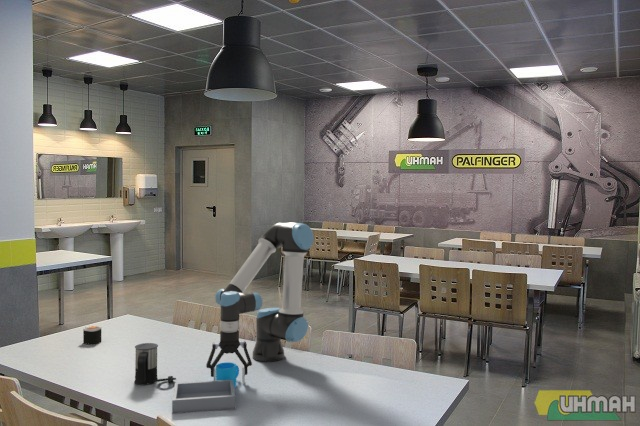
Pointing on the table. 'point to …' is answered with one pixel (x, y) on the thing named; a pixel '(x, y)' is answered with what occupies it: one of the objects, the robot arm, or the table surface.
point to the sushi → (92, 335)
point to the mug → (227, 371)
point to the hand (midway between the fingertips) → (229, 383)
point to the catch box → (203, 396)
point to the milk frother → (147, 365)
